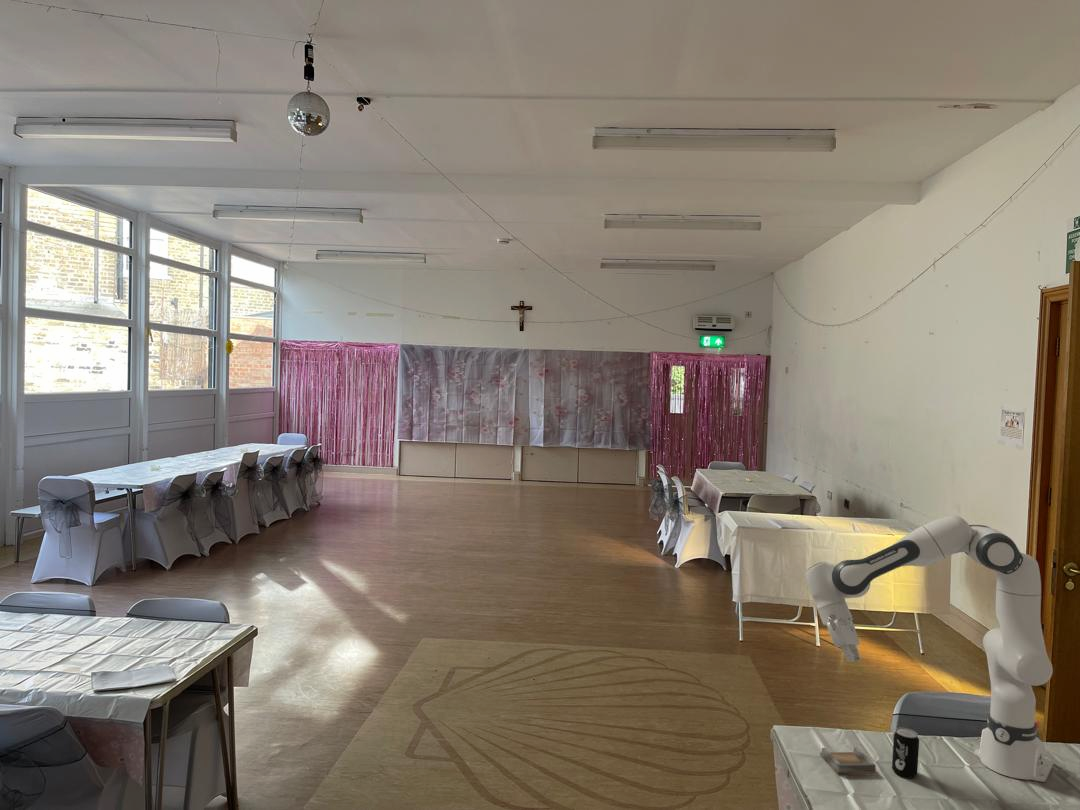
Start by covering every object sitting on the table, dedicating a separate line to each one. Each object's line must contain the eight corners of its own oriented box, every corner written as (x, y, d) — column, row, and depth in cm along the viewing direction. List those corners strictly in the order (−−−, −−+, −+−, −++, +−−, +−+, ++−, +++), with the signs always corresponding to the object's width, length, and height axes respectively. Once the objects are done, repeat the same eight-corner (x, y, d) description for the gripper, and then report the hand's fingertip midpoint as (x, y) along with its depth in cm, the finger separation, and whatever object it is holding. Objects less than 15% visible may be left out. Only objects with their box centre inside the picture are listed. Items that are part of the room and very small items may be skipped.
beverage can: (920, 780, 206) (922, 739, 205) (895, 777, 207) (897, 735, 207) (913, 768, 212) (915, 728, 212) (888, 765, 213) (891, 725, 213)
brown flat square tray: (819, 755, 218) (820, 746, 218) (854, 754, 219) (855, 745, 219) (838, 775, 207) (838, 765, 207) (875, 774, 208) (875, 765, 208)
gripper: (837, 611, 214) (857, 658, 208) (852, 613, 231) (871, 658, 224) (817, 617, 217) (836, 665, 211) (833, 620, 233) (851, 664, 227)
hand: (854, 661), depth 218 cm, fingers open, 8 cm apart
